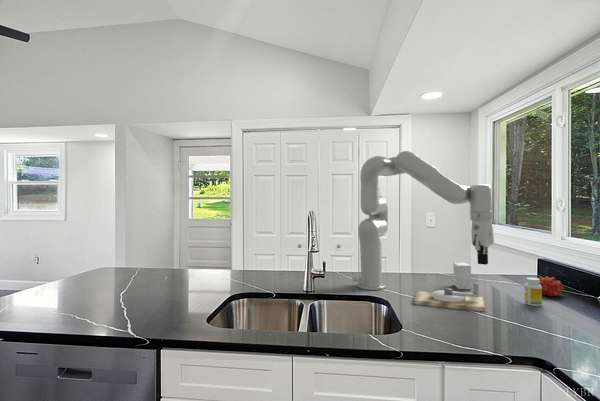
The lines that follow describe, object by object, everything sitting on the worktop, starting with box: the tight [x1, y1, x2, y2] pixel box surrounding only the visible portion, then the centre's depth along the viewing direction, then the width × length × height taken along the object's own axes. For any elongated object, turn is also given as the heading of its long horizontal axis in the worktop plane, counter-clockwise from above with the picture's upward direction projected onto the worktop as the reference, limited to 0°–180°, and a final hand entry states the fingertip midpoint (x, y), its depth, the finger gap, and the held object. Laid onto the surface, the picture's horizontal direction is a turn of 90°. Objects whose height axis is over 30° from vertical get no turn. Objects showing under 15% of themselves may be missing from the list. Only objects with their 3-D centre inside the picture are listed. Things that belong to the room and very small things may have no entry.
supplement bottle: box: [524, 277, 543, 307], centre depth 130 cm, size 5×5×10 cm
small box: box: [452, 262, 472, 290], centre depth 156 cm, size 8×6×10 cm
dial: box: [431, 282, 480, 303], centre depth 133 cm, size 16×12×6 cm
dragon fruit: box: [537, 275, 565, 297], centre depth 141 cm, size 8×8×12 cm
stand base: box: [413, 290, 486, 312], centre depth 134 cm, size 24×14×2 cm, turn 65°
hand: (482, 263), depth 134 cm, fingers closed
